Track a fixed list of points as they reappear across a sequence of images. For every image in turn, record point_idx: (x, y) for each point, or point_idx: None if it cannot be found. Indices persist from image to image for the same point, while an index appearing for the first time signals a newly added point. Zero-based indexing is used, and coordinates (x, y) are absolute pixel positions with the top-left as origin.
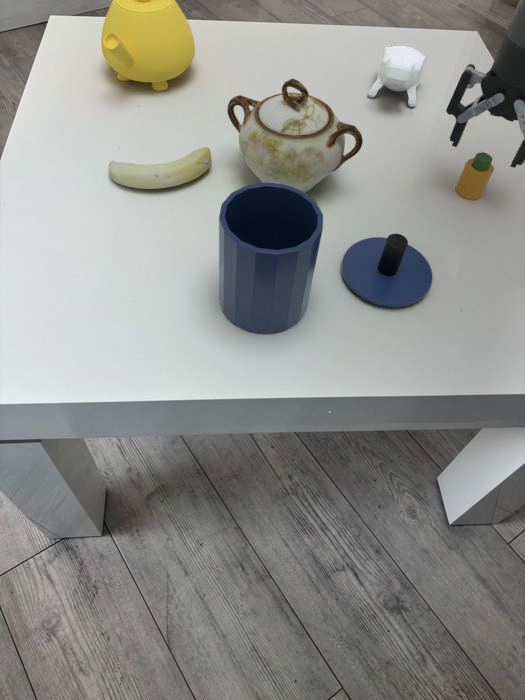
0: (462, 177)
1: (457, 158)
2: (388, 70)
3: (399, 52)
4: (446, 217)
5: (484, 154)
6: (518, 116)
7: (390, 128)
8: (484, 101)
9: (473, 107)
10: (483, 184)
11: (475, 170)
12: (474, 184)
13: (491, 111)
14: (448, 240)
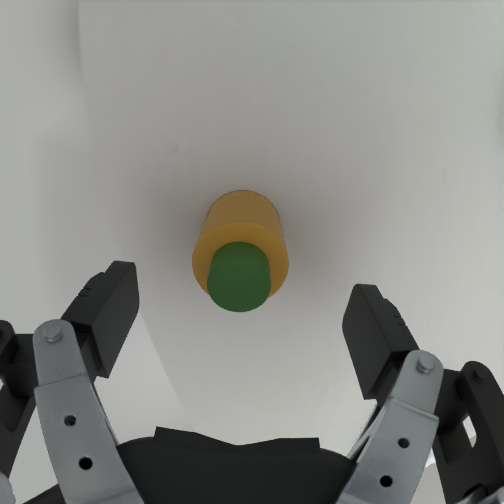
0: (279, 227)
1: (289, 330)
2: (466, 429)
3: (427, 463)
4: (283, 87)
5: (240, 303)
6: (114, 465)
7: (424, 347)
8: (414, 491)
9: (433, 430)
10: (209, 219)
11: (251, 238)
12: (236, 206)
13: (320, 456)
14: (259, 4)
